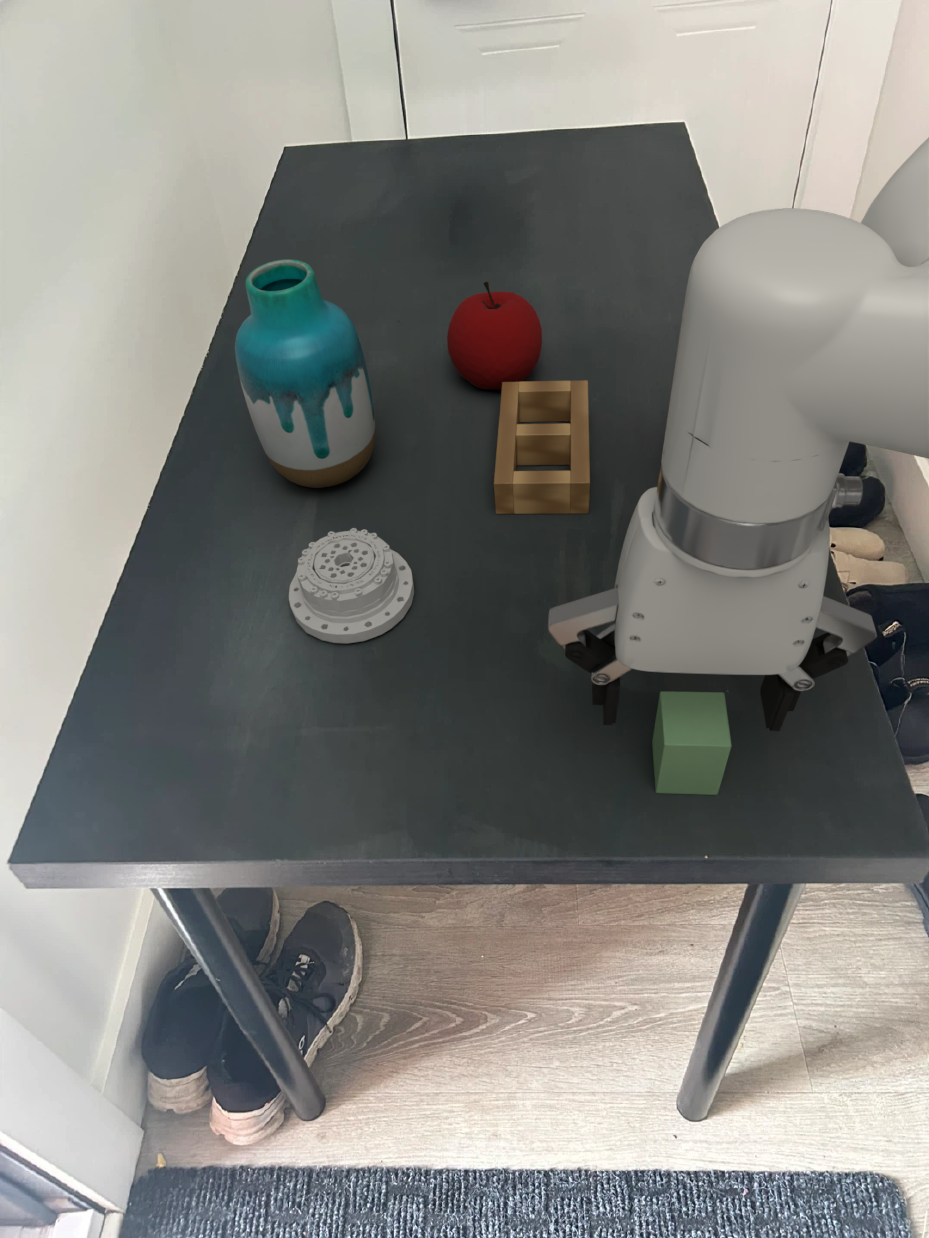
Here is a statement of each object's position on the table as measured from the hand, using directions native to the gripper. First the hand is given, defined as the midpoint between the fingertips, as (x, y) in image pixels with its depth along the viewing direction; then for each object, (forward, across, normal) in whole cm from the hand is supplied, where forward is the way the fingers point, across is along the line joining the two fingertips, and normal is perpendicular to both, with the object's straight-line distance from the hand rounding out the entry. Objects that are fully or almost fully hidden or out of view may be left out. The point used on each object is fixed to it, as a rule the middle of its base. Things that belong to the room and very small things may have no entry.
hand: (688, 708), depth 54 cm
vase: (+8, +29, -31) cm, 43 cm away
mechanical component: (+8, +24, -15) cm, 30 cm away
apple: (+7, +14, -45) cm, 48 cm away
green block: (+7, -1, 0) cm, 7 cm away
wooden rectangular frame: (+7, +9, -32) cm, 34 cm away
